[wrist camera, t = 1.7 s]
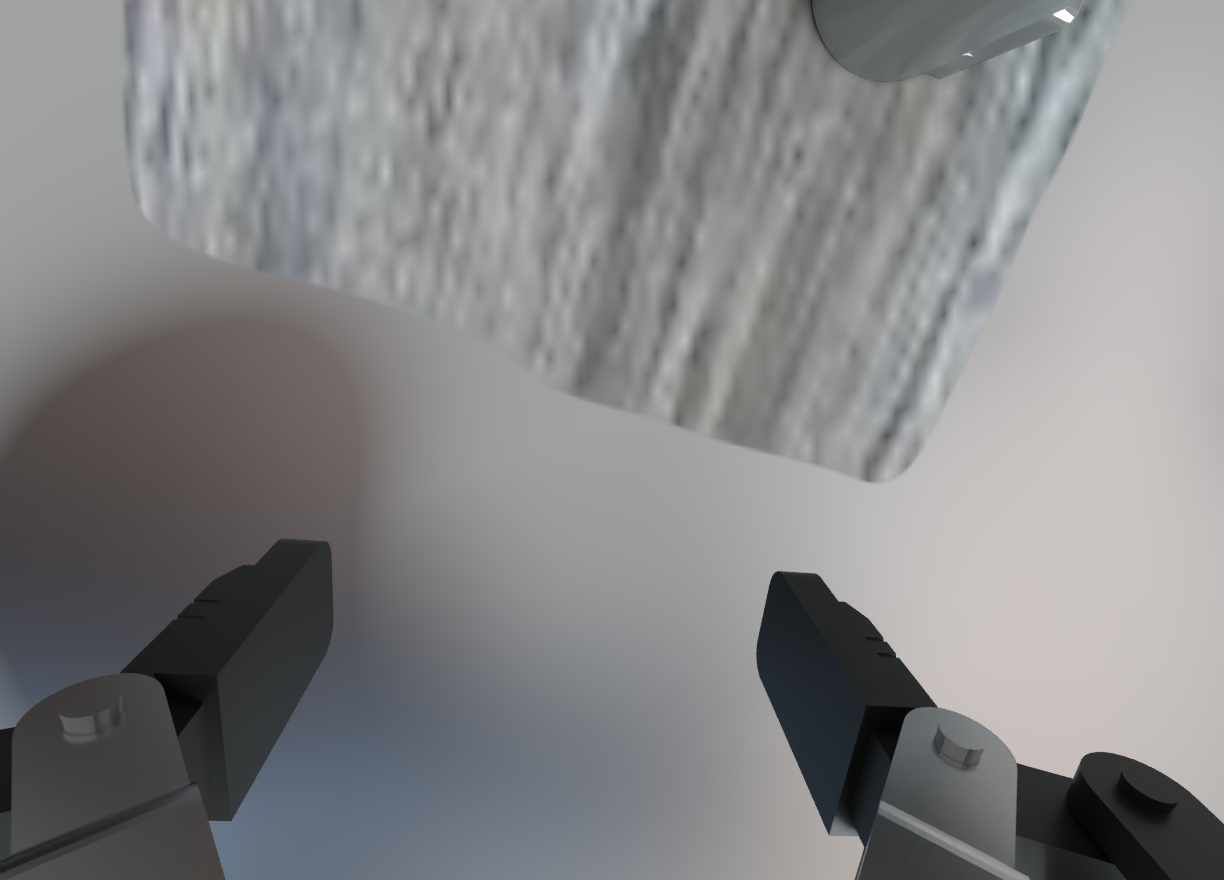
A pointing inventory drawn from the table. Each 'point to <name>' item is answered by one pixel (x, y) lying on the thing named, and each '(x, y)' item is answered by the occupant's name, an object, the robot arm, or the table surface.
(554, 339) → the table surface
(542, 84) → the table surface
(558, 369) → the table surface
